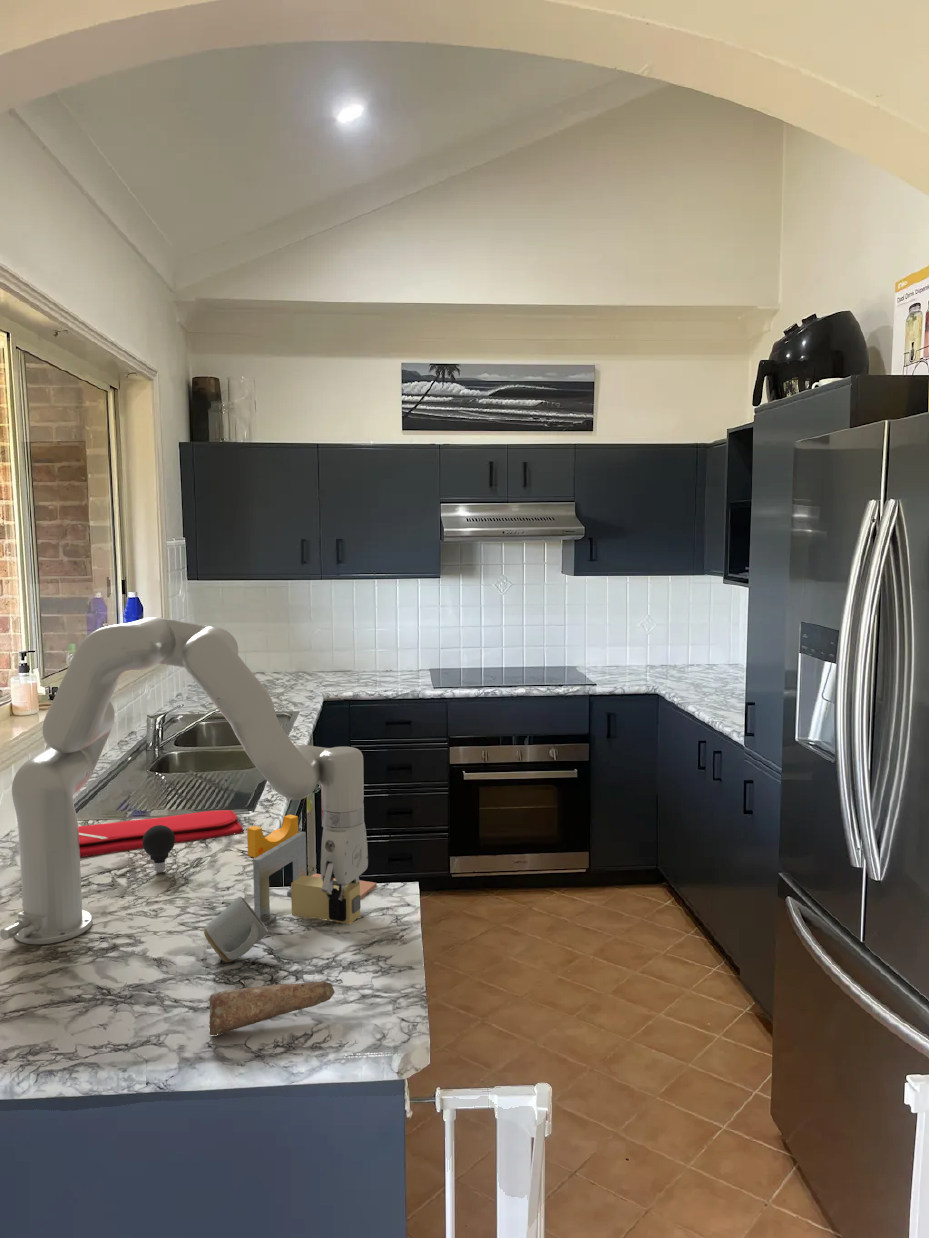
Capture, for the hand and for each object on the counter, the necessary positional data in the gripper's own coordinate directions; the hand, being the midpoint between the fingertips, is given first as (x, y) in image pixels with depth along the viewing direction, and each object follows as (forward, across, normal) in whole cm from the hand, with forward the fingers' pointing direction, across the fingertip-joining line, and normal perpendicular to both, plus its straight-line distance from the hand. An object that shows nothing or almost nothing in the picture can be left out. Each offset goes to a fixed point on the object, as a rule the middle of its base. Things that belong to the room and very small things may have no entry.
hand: (343, 913), depth 162 cm
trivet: (+1, +12, +8) cm, 14 cm away
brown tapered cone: (+1, -34, -7) cm, 35 cm away
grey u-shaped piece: (+1, 0, +13) cm, 13 cm away
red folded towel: (+2, +23, +64) cm, 68 cm away
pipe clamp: (+1, +26, +32) cm, 42 cm away
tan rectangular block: (+1, 0, +4) cm, 4 cm away
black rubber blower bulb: (+1, +6, +46) cm, 46 cm away
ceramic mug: (+1, -21, +8) cm, 23 cm away
